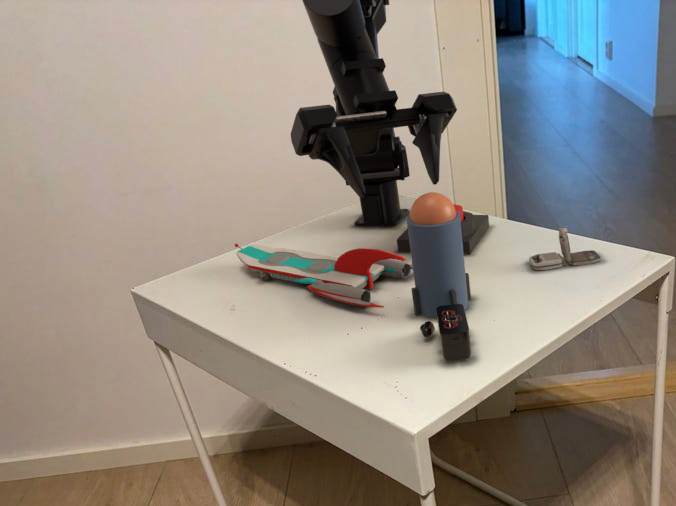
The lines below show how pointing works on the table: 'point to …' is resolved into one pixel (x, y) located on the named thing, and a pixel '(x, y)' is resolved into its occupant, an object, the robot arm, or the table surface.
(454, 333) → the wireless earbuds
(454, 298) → the toy rocket
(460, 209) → the button
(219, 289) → the table surface
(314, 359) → the table surface
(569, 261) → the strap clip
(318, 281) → the toy spaceship
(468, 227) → the box
